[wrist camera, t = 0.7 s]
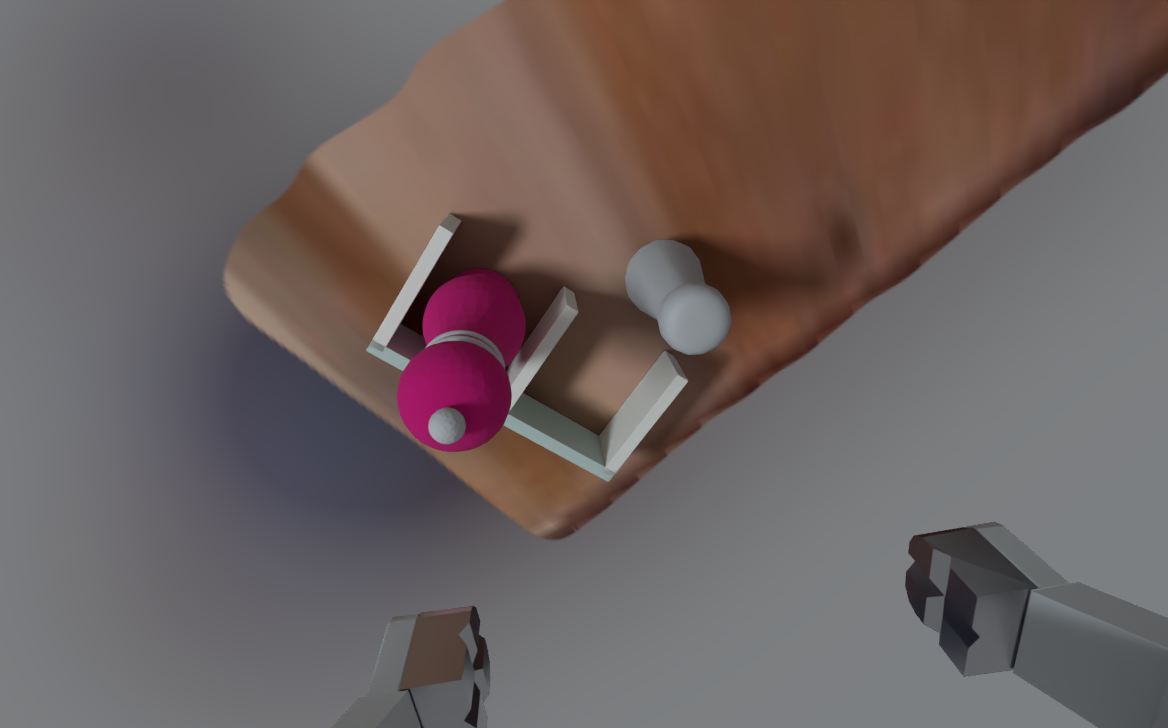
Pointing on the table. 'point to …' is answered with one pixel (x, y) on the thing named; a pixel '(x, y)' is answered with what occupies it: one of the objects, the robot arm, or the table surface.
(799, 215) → the table surface
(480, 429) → the pepper mill
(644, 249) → the salt shaker
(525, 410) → the condiment rack
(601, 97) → the table surface
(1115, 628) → the robot arm
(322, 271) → the table surface
